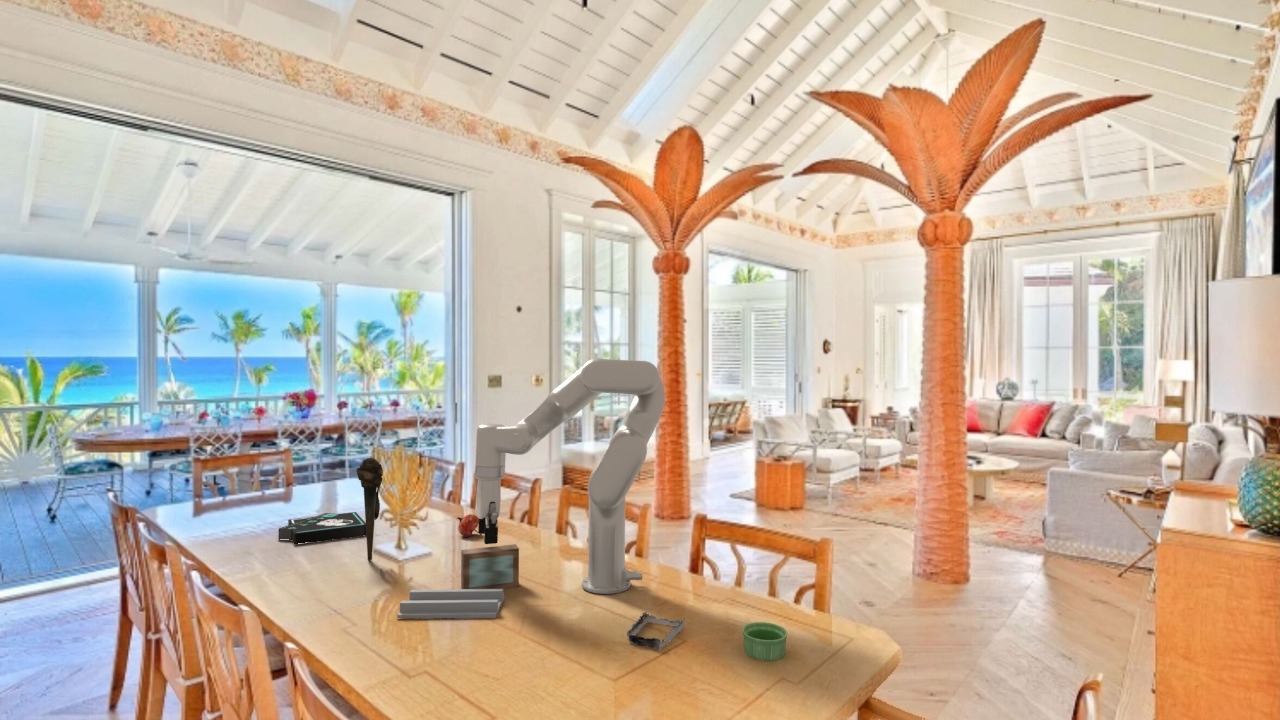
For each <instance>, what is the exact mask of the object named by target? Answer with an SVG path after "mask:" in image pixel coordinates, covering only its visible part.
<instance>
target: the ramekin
mask: <svg viewBox="0 0 1280 720" xmlns="http://www.w3.org/2000/svg"><path fill="white" fill-rule="evenodd" d="M741 632H742V636H743V648H744V649H743V650H744V653H745V654H746V655H747V656H748V655H749V656H748V657H750V658H752V659H754V660H757V659H758V660H757V661H762V660H763V662H774V660H775V661H779V660H781V659H782V658H783V657H784V656H785V654H786V643H787V639H788V631H787V630H786V629H785V628H784V627H783V626H780V625H779V624H775V623H772V622H764V621H762V622H761V621H759V622H756V621H755V622H751V623H747V624H745V625H744V626H743V627H742V629H741ZM778 659H779V660H778Z"/></svg>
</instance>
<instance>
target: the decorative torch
mask: <svg viewBox="0 0 1280 720" xmlns="http://www.w3.org/2000/svg"><path fill="white" fill-rule="evenodd" d="M383 472H384V471H383V467H382V464H380V463H379V461H378V460H377V459H376V458H375V457H367V458H365V459H362V462H361V463H360V465H359V467H358V468H356V475H357V479H358V480H359V481H360V485H361V488H363V497H364V498H363V502H364V514H365V515H364V516H365V517H364V518H365V520H364V521H365V523H366V551H367V555H366V556H367V561H368V562H372V560H373V546H374V534H375V521H376V520H377V519H378V518H379V517H380V510H381V508H380V507H381V503H380V497H379V490H380V488H381V484H382V483H383V474H384V473H383Z"/></svg>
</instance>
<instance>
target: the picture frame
mask: <svg viewBox="0 0 1280 720" xmlns="http://www.w3.org/2000/svg"><path fill="white" fill-rule="evenodd" d="M460 551H461V553H460V554H461V555H460V556H461V557H460V559H461V563H460V565H461V567H460V569H461V570H460V571H461V572H460V589H503V590H504V589H510V588H518V587H519V586H520V585H519V582H520V581H519V579H520V576H519V575H520V574H519V573H520V571H519V569H520V566H519V565H520V548H519V546H518V545H517V544H516V543H515V544H506V545H505V544H504V545H497V546H495V545H494V546H487V547H486V546H485V547H476V548H468V549H467V548H466V549H465V548H464V549H460Z"/></svg>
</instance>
